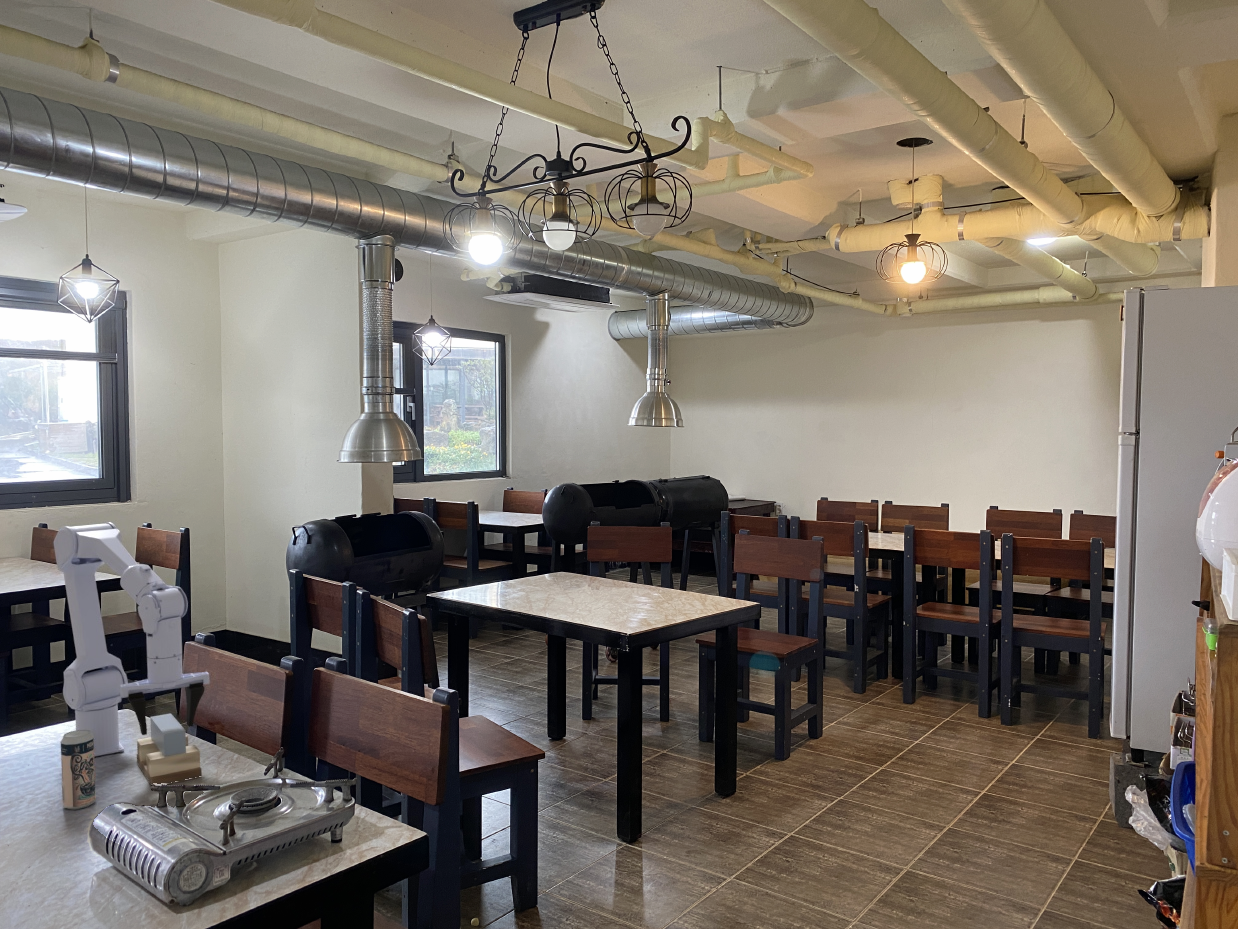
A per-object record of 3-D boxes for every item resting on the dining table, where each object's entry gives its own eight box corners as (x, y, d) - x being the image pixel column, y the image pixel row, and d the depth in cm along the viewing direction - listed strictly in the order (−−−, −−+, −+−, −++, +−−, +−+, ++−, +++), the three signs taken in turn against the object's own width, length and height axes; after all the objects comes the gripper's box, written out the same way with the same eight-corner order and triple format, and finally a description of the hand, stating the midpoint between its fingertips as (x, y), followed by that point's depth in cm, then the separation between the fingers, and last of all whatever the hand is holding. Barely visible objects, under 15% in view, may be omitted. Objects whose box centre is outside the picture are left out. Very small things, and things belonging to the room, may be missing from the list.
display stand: (136, 762, 173) (136, 738, 173) (183, 753, 178) (182, 729, 178) (152, 787, 160) (151, 762, 160) (201, 777, 165) (200, 752, 165)
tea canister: (80, 812, 150) (78, 738, 150) (55, 810, 151) (53, 737, 151) (102, 800, 155) (100, 729, 155) (78, 798, 156) (75, 728, 156)
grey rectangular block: (151, 738, 173) (150, 717, 173) (171, 734, 175) (170, 713, 175) (164, 756, 163) (163, 734, 163) (186, 752, 165) (185, 730, 165)
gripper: (123, 665, 161) (125, 743, 162) (212, 653, 170) (214, 726, 170) (117, 658, 167) (119, 733, 167) (203, 646, 175) (206, 717, 176)
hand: (167, 729), depth 169 cm, fingers open, 7 cm apart
